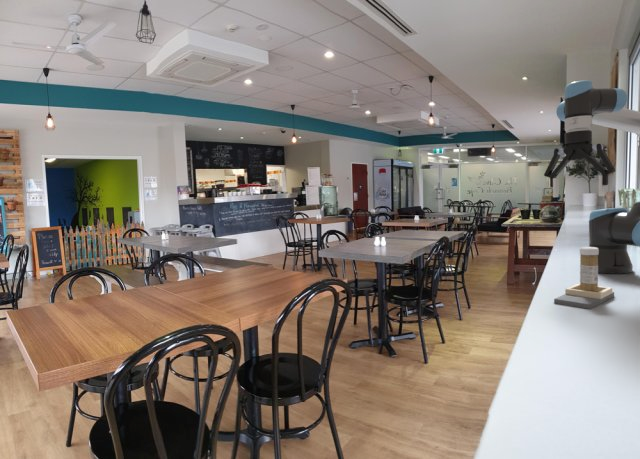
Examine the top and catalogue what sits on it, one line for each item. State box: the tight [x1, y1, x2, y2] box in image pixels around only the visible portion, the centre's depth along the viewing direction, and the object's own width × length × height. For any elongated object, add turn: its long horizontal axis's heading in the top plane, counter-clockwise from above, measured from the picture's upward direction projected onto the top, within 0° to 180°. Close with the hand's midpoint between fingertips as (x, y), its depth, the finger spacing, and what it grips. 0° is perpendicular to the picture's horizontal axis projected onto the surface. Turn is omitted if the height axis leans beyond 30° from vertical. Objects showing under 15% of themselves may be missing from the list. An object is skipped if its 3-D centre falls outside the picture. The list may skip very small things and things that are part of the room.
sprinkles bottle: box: [579, 246, 599, 292], centre depth 120 cm, size 5×5×14 cm
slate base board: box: [553, 283, 615, 310], centre depth 119 cm, size 18×9×3 cm, turn 128°
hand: (577, 196), depth 137 cm, fingers open, 13 cm apart
